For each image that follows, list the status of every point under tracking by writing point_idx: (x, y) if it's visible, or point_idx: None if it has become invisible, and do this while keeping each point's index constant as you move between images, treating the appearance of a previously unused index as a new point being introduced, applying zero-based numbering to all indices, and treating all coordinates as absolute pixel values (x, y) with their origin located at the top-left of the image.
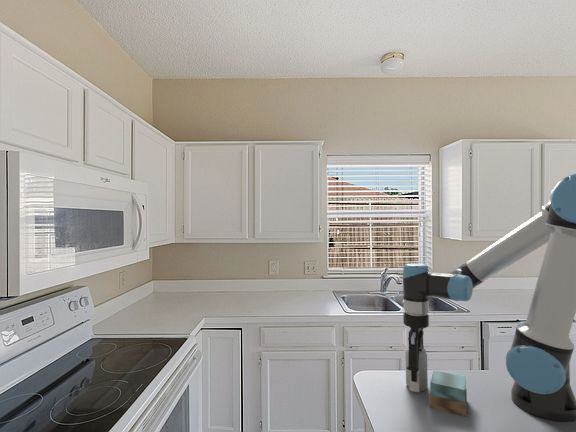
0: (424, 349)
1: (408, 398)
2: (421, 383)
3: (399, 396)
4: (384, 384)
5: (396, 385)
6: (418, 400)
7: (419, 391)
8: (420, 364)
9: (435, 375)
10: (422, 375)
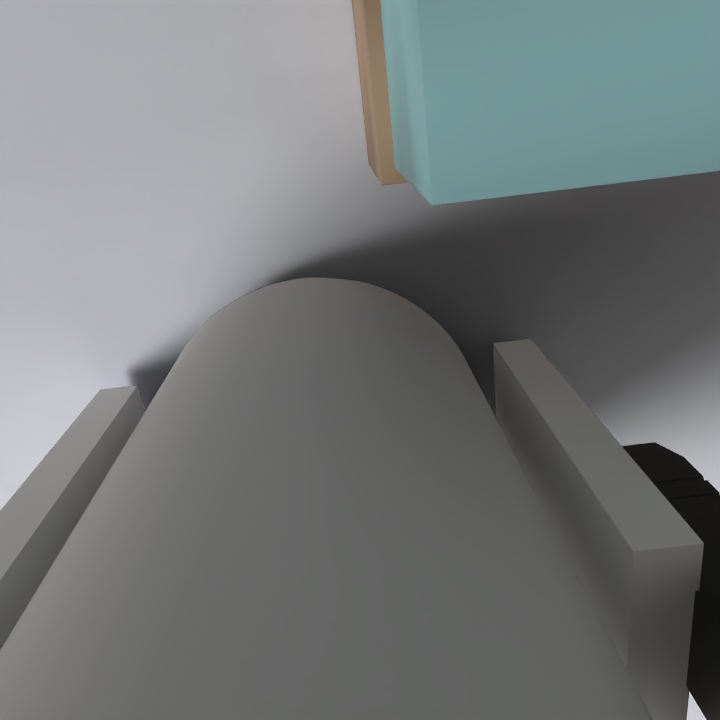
0: None
1: (708, 411)
2: (464, 367)
3: None
4: None
5: None
6: (706, 292)
7: (497, 343)
8: (606, 648)
9: None
10: (479, 419)
